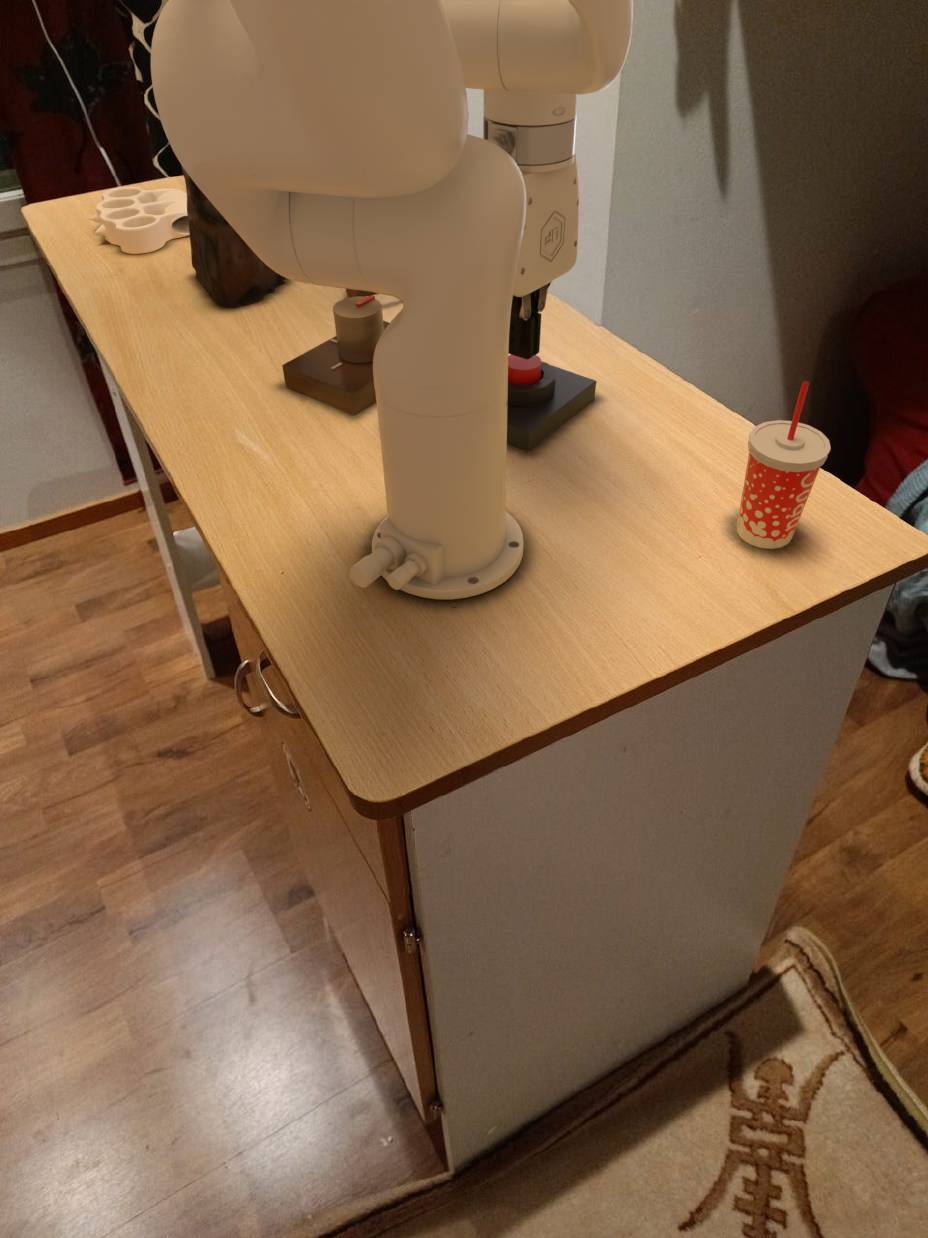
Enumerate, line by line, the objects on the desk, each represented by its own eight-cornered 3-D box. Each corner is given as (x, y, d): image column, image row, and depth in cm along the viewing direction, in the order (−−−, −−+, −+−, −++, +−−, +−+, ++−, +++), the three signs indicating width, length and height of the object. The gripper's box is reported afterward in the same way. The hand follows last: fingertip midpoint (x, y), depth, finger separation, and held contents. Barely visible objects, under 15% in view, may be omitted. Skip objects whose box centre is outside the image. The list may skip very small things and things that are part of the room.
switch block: (528, 452, 84) (529, 415, 81) (446, 419, 88) (445, 383, 85) (594, 399, 90) (598, 364, 87) (515, 371, 95) (516, 336, 92)
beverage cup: (756, 562, 71) (799, 411, 62) (712, 520, 75) (746, 372, 66) (817, 542, 73) (868, 392, 63) (771, 502, 77) (812, 355, 67)
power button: (527, 390, 85) (527, 373, 84) (497, 379, 86) (497, 362, 85) (547, 375, 87) (548, 358, 86) (518, 364, 88) (518, 348, 87)
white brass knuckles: (210, 241, 123) (103, 260, 118) (185, 201, 134) (86, 217, 130) (205, 216, 120) (95, 235, 116) (179, 177, 132) (79, 193, 128)
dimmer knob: (363, 368, 91) (358, 319, 87) (328, 354, 93) (322, 306, 89) (395, 349, 93) (391, 301, 90) (360, 336, 96) (355, 289, 92)
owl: (291, 262, 117) (264, 92, 103) (303, 302, 108) (276, 122, 94) (194, 274, 115) (154, 102, 101) (199, 315, 106) (155, 133, 92)
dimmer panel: (354, 415, 89) (351, 392, 87) (285, 386, 93) (281, 363, 91) (440, 361, 97) (439, 338, 95) (373, 336, 101) (371, 314, 99)
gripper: (513, 169, 65) (506, 394, 78) (615, 128, 74) (595, 336, 86) (435, 153, 69) (441, 370, 81) (542, 115, 78) (532, 317, 90)
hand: (520, 352), depth 84 cm, fingers closed
